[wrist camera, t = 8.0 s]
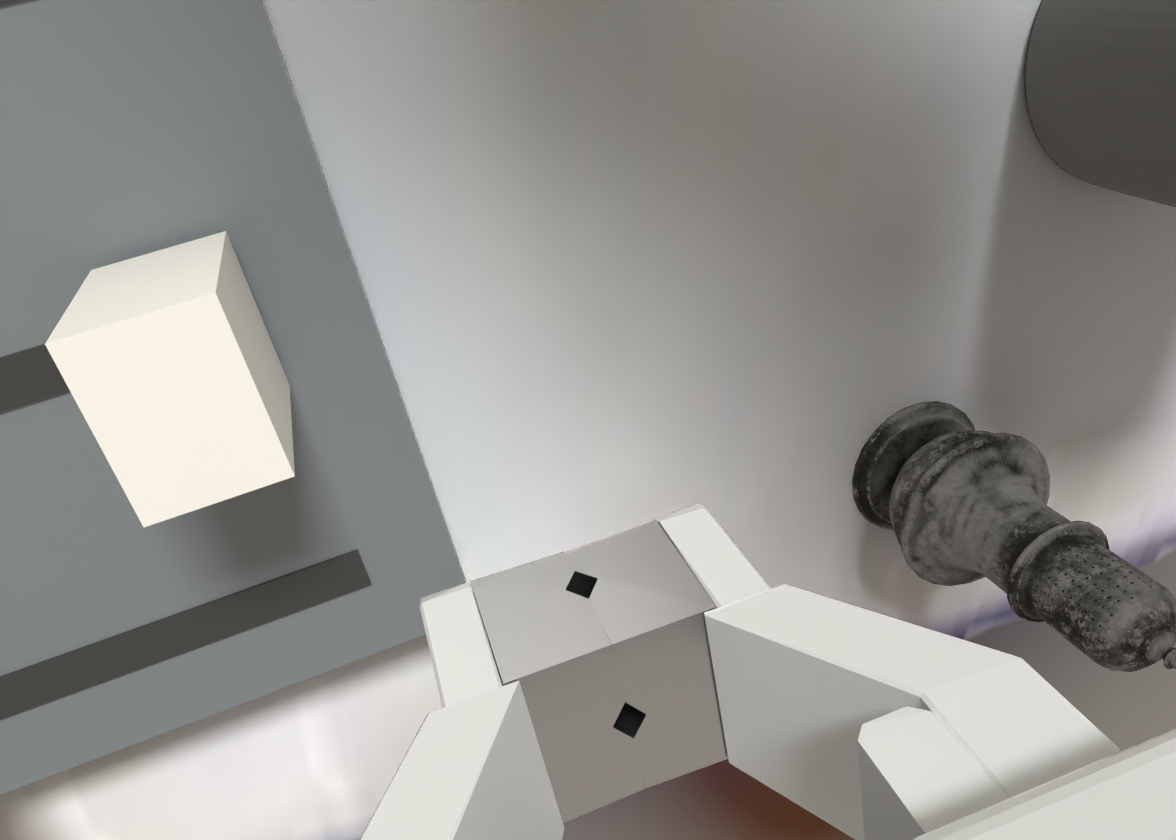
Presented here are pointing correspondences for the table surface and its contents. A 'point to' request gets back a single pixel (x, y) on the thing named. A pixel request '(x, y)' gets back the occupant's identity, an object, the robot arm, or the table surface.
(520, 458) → the table surface
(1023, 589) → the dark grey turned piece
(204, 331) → the handle
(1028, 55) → the mug
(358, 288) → the breaker panel
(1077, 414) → the table surface
